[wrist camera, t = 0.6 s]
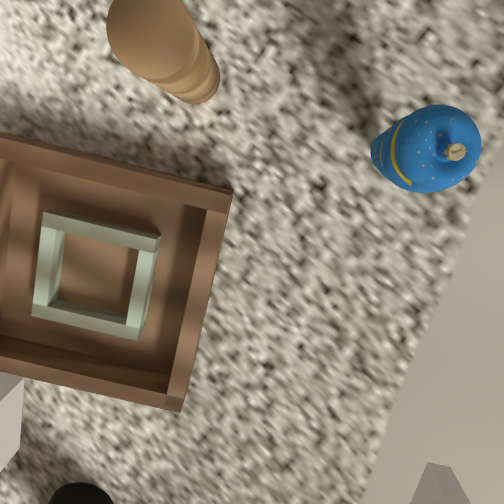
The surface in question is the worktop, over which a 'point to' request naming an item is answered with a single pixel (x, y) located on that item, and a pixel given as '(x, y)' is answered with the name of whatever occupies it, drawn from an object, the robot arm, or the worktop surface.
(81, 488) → the wine bottle
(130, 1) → the peg
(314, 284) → the worktop surface
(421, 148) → the ornament
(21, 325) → the box
